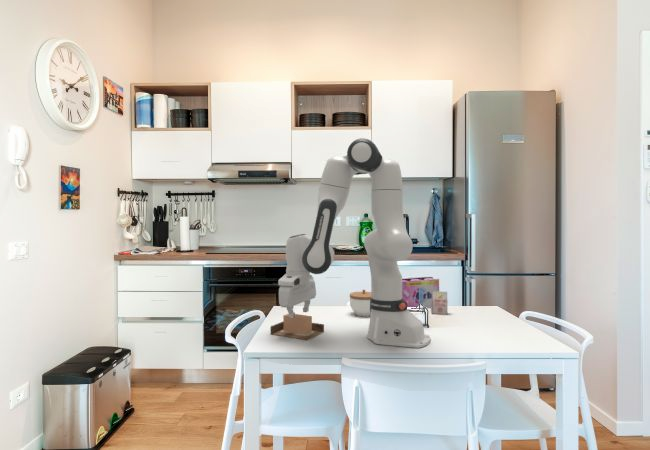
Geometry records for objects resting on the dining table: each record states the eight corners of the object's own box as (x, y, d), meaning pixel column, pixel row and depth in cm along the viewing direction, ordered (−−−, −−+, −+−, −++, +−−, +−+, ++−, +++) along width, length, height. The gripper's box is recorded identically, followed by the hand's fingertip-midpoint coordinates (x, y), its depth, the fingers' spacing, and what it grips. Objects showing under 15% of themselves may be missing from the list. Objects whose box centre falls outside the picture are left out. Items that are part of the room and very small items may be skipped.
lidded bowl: (349, 311, 189) (349, 287, 189) (376, 311, 189) (376, 287, 188) (349, 317, 177) (350, 292, 176) (379, 318, 176) (379, 292, 176)
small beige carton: (431, 312, 187) (431, 290, 187) (446, 313, 185) (446, 291, 185) (431, 314, 183) (431, 292, 183) (447, 315, 182) (447, 292, 182)
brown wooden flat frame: (324, 332, 155) (324, 324, 155) (307, 340, 144) (307, 332, 144) (288, 326, 162) (288, 319, 162) (270, 334, 152) (270, 326, 152)
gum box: (432, 303, 206) (432, 276, 206) (442, 306, 199) (442, 278, 199) (390, 307, 198) (390, 279, 198) (399, 310, 190) (399, 281, 190)
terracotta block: (289, 328, 157) (289, 313, 157) (311, 332, 153) (311, 316, 152) (283, 331, 154) (283, 315, 154) (306, 335, 149) (306, 318, 149)
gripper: (305, 273, 163) (306, 308, 164) (275, 281, 146) (276, 320, 146) (319, 274, 160) (320, 309, 161) (289, 282, 143) (291, 322, 143)
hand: (299, 314), depth 153 cm, fingers open, 8 cm apart
